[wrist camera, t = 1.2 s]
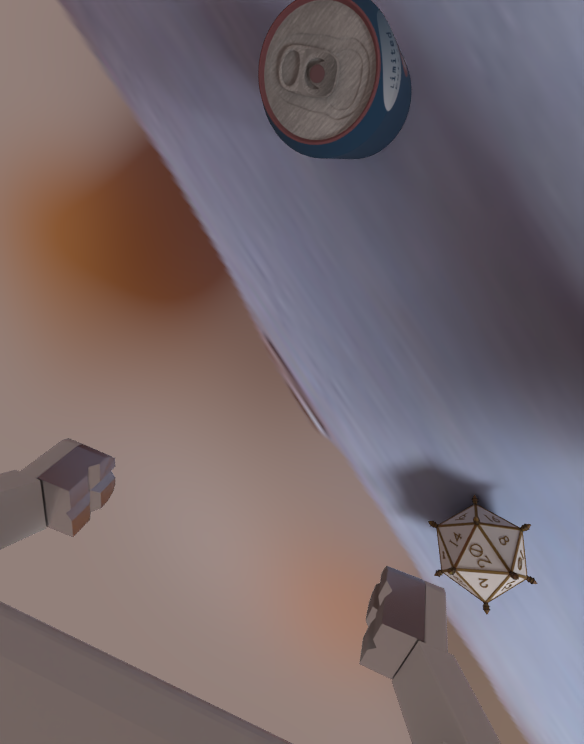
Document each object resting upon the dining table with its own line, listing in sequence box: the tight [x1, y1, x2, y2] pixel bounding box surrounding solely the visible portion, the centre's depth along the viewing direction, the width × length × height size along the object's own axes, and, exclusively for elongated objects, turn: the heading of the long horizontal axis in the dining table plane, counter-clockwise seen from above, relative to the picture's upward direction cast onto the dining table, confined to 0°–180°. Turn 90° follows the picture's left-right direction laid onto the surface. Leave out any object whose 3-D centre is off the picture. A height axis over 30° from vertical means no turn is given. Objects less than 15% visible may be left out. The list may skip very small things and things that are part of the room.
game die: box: [428, 495, 537, 614], centre depth 38 cm, size 9×8×10 cm
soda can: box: [258, 0, 411, 159], centre depth 24 cm, size 7×7×12 cm
